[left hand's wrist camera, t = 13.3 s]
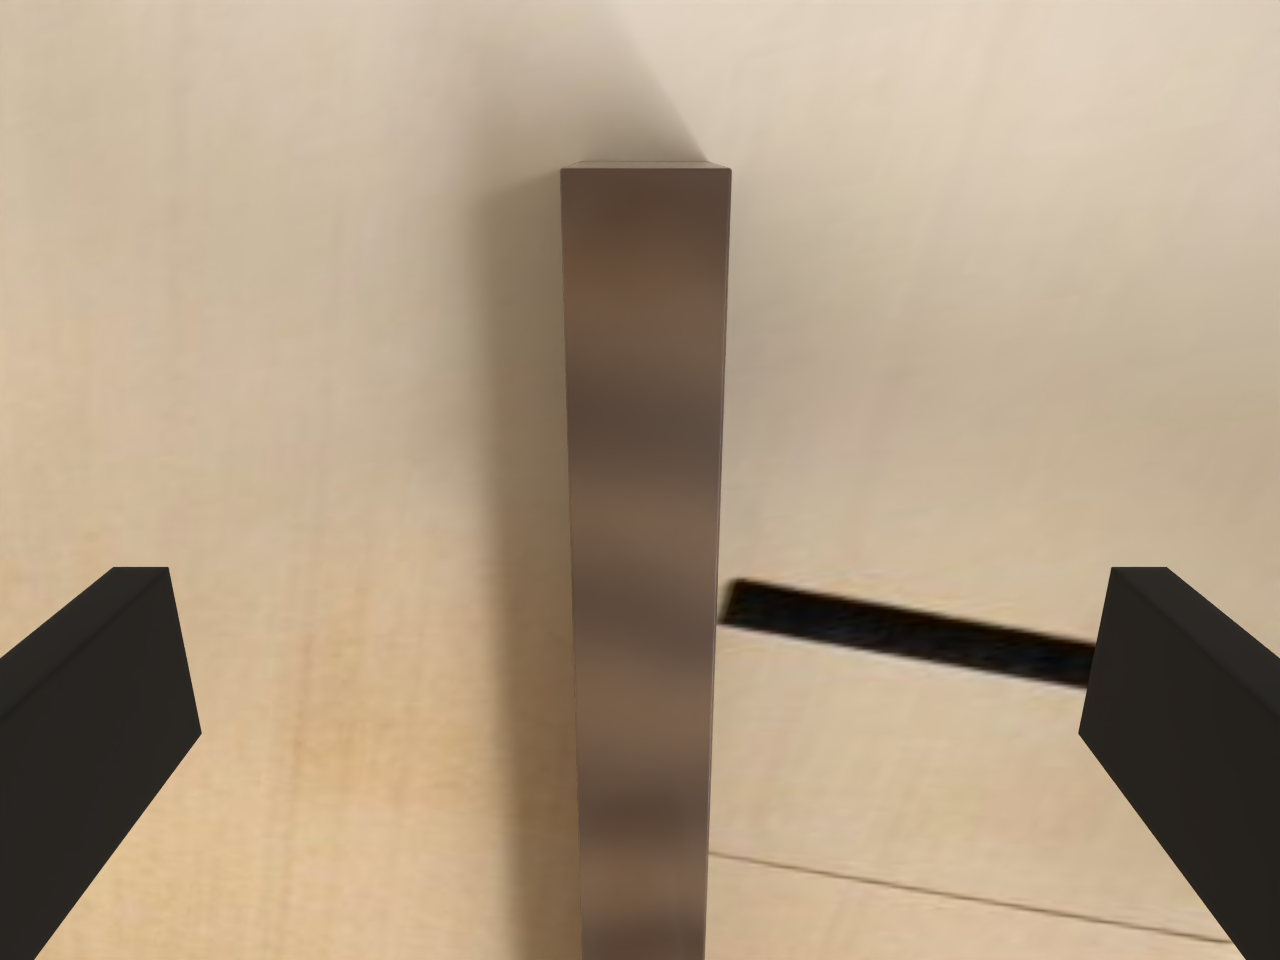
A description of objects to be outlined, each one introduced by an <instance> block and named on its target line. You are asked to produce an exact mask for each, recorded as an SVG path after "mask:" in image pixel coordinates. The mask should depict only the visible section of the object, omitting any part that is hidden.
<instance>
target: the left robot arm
mask: <svg viewBox="0 0 1280 960" xmlns="http://www.w3.org/2000/svg"><path fill="white" fill-rule="evenodd" d="M201 734H202V732H201V727H200V722H199V717H198V712H197V707H196V702H195V697H194V692H193V687H192V682H191V677H190V672H189V667H188V662H187V657H186V652H185V647H184V642H183V637H182V632H181V627H180V622H179V617H178V612H177V608H176V603H175V598H174V593H173V588H172V583H171V578H170V573H169V568H168V567H113V568H112V569H110V570H109V571H108V572H107V573H105V574H104V575H103V576H102V577H100V578H99V579H98V580H97V581H95V582H94V583H93V584H92V585H91V586H89V587H88V588H87V589H86V590H84V591H83V592H82V593H81V594H79V595H78V596H77V597H76V598H74V599H73V600H72V601H71V602H69V603H68V604H67V605H66V606H65V607H63V608H62V609H61V610H60V611H58V612H57V613H56V614H55V615H53V616H52V617H51V618H50V619H48V620H47V621H46V622H45V623H43V624H42V625H41V626H40V627H39V628H37V629H36V630H35V631H34V632H32V633H31V634H30V635H29V636H27V637H26V638H25V639H24V640H22V641H21V642H20V643H19V644H17V645H16V646H15V647H14V648H12V649H11V650H10V651H9V652H8V653H6V654H5V655H4V656H3V657H1V658H0V960H34V959H35V958H36V956H37V955H38V954H39V952H40V951H41V950H42V948H43V947H44V946H45V944H46V943H47V942H48V940H49V939H50V938H51V936H52V935H53V934H54V932H55V931H56V929H57V928H58V927H59V925H60V924H61V923H62V921H63V920H64V919H65V917H66V916H67V915H68V913H69V912H70V911H71V909H72V908H73V907H74V905H75V904H76V902H77V901H78V900H79V898H80V897H81V896H82V894H83V893H84V892H85V890H86V889H87V888H88V886H89V885H90V884H91V882H92V881H93V880H94V878H95V877H96V876H97V874H98V873H99V871H100V870H101V869H102V867H103V866H104V865H105V863H106V862H107V861H108V859H109V858H110V857H111V855H112V854H113V853H114V851H115V850H116V849H117V847H118V846H119V844H120V843H121V842H122V840H123V839H124V838H125V836H126V835H127V834H128V832H129V831H130V830H131V828H132V827H133V826H134V824H135V823H136V822H137V820H138V819H139V817H140V816H141V815H142V813H143V812H144V811H145V809H146V808H147V807H148V805H149V804H150V803H151V801H152V800H153V799H154V797H155V796H156V795H157V793H158V792H159V790H160V789H161V788H162V786H163V785H164V784H165V782H166V781H167V780H168V778H169V777H170V776H171V774H172V773H173V772H174V770H175V769H176V768H177V766H178V765H179V763H180V762H181V761H182V759H183V758H184V757H185V755H186V754H187V753H188V751H189V750H190V749H191V747H192V746H193V745H194V743H195V742H196V741H197V739H198V738H199V736H200V735H201ZM1078 734H1079V735H1080V736H1081V738H1082V739H1083V741H1084V742H1085V743H1086V745H1087V746H1088V747H1089V749H1090V750H1091V751H1092V753H1093V754H1094V755H1095V757H1096V758H1097V759H1098V761H1099V762H1100V763H1101V765H1102V766H1103V768H1104V769H1105V770H1106V772H1107V773H1108V774H1109V776H1110V777H1111V778H1112V780H1113V781H1114V782H1115V784H1116V785H1117V786H1118V788H1119V789H1120V790H1121V792H1122V793H1123V795H1124V796H1125V797H1126V799H1127V800H1128V801H1129V803H1130V804H1131V805H1132V807H1133V808H1134V809H1135V811H1136V812H1137V813H1138V815H1139V816H1140V817H1141V819H1142V820H1143V822H1144V823H1145V824H1146V826H1147V827H1148V828H1149V830H1150V831H1151V832H1152V834H1153V835H1154V836H1155V838H1156V839H1157V840H1158V842H1159V843H1160V844H1161V846H1162V847H1163V849H1164V850H1165V851H1166V853H1167V854H1168V855H1169V857H1170V858H1171V859H1172V861H1173V862H1174V863H1175V865H1176V866H1177V867H1178V869H1179V870H1180V871H1181V873H1182V874H1183V876H1184V877H1185V878H1186V880H1187V881H1188V882H1189V884H1190V885H1191V886H1192V888H1193V889H1194V890H1195V892H1196V893H1197V894H1198V896H1199V897H1200V898H1201V900H1202V901H1203V903H1204V904H1205V905H1206V907H1207V908H1208V909H1209V911H1210V912H1211V913H1212V915H1213V916H1214V917H1215V919H1216V920H1217V921H1218V923H1219V924H1220V925H1221V927H1222V928H1223V929H1224V931H1225V932H1226V934H1227V935H1228V936H1229V938H1230V939H1231V940H1232V942H1233V943H1234V944H1235V946H1236V947H1237V948H1238V950H1239V951H1240V952H1241V954H1242V955H1243V956H1244V958H1245V959H1246V960H1280V658H1279V657H1277V656H1276V655H1275V654H1274V653H1272V652H1271V651H1270V650H1269V649H1268V648H1266V647H1265V646H1264V645H1263V644H1261V643H1260V642H1259V641H1258V640H1256V639H1255V638H1254V637H1253V636H1251V635H1250V634H1249V633H1248V632H1246V631H1245V630H1244V629H1243V628H1241V627H1240V626H1239V625H1238V624H1237V623H1235V622H1234V621H1233V620H1232V619H1230V618H1229V617H1228V616H1227V615H1225V614H1224V613H1223V612H1222V611H1220V610H1219V609H1218V608H1217V607H1215V606H1214V605H1213V604H1212V603H1211V602H1209V601H1208V600H1207V599H1206V598H1204V597H1203V596H1202V595H1201V594H1199V593H1198V592H1197V591H1196V590H1194V589H1193V588H1192V587H1191V586H1189V585H1188V584H1187V583H1186V582H1185V581H1183V580H1182V579H1181V578H1180V577H1178V576H1177V575H1176V574H1175V573H1173V572H1172V571H1171V570H1170V569H1168V568H1167V567H1112V568H1111V573H1110V578H1109V583H1108V588H1107V593H1106V598H1105V602H1104V607H1103V612H1102V617H1101V622H1100V627H1099V632H1098V637H1097V642H1096V647H1095V652H1094V657H1093V662H1092V667H1091V672H1090V677H1089V682H1088V687H1087V692H1086V697H1085V702H1084V707H1083V712H1082V717H1081V722H1080V727H1079V732H1078Z"/></svg>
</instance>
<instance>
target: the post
mask: <svg viewBox="0 0 1280 960" xmlns="http://www.w3.org/2000/svg"><path fill="white" fill-rule="evenodd" d="M731 180H732V171H731V169H730V168H727V167H724V166H721V165H717V164H714V163H711V162H578V163H576V164H573V165H570V166H567V167H564V168H562V169H561V170H560V186H561V222H562V258H563V293H564V329H565V364H566V400H567V436H568V471H569V507H570V543H571V578H572V614H573V650H574V685H575V721H576V757H577V792H578V828H579V863H580V899H581V935H582V960H705V935H706V906H707V877H708V848H709V819H710V790H711V761H712V732H713V703H714V674H715V645H716V616H717V587H718V558H719V529H720V500H721V471H722V442H723V413H724V384H725V354H726V325H727V296H728V267H729V238H730V209H731Z"/></svg>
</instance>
